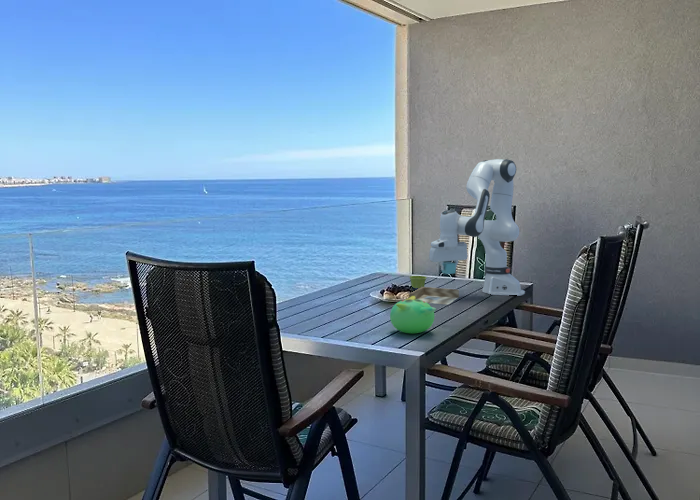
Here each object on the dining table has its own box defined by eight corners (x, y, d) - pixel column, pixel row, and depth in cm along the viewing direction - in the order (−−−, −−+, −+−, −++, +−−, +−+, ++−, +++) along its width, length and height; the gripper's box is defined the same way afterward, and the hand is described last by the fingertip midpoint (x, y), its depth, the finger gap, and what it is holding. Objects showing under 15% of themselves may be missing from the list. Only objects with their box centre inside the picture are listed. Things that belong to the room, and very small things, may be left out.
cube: (450, 271, 325) (450, 262, 324) (455, 273, 320) (455, 263, 320) (441, 272, 323) (441, 262, 323) (446, 274, 319) (446, 264, 318)
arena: (459, 299, 328) (459, 289, 328) (448, 306, 310) (448, 296, 310) (422, 296, 336) (422, 286, 336) (409, 303, 318) (409, 293, 318)
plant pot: (426, 291, 350) (426, 275, 349) (426, 294, 341) (426, 278, 340) (409, 291, 351) (409, 275, 350) (409, 294, 342) (409, 278, 341)
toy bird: (430, 327, 268) (431, 293, 266) (437, 338, 251) (438, 301, 249) (388, 328, 267) (388, 293, 266) (392, 338, 251) (392, 301, 249)
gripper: (463, 240, 326) (463, 267, 328) (427, 243, 319) (427, 270, 321) (470, 242, 321) (469, 269, 322) (433, 244, 314) (433, 272, 315)
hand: (448, 269), depth 322 cm, fingers closed on cube, 5 cm apart
